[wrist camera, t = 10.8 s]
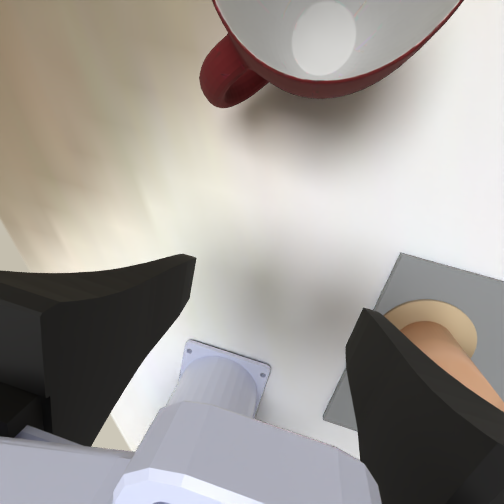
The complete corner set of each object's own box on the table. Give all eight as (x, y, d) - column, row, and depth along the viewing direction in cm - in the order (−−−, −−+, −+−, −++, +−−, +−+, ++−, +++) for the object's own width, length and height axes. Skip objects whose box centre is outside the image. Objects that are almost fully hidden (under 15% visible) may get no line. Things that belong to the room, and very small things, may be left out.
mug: (277, 169, 19) (251, 189, 10) (200, 69, 18) (91, -11, 9) (426, 46, 16) (595, -98, 7) (342, -92, 14) (404, -512, 5)
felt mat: (571, 499, 24) (575, 504, 24) (322, 416, 26) (323, 420, 26) (745, 348, 18) (754, 352, 18) (400, 252, 20) (402, 254, 20)
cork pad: (445, 387, 22) (447, 391, 22) (358, 360, 23) (359, 363, 23) (494, 316, 20) (497, 319, 19) (394, 287, 20) (396, 289, 20)
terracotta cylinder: (439, 371, 22) (484, 448, 16) (386, 357, 22) (412, 428, 16) (462, 329, 20) (522, 398, 15) (405, 315, 21) (441, 377, 15)
